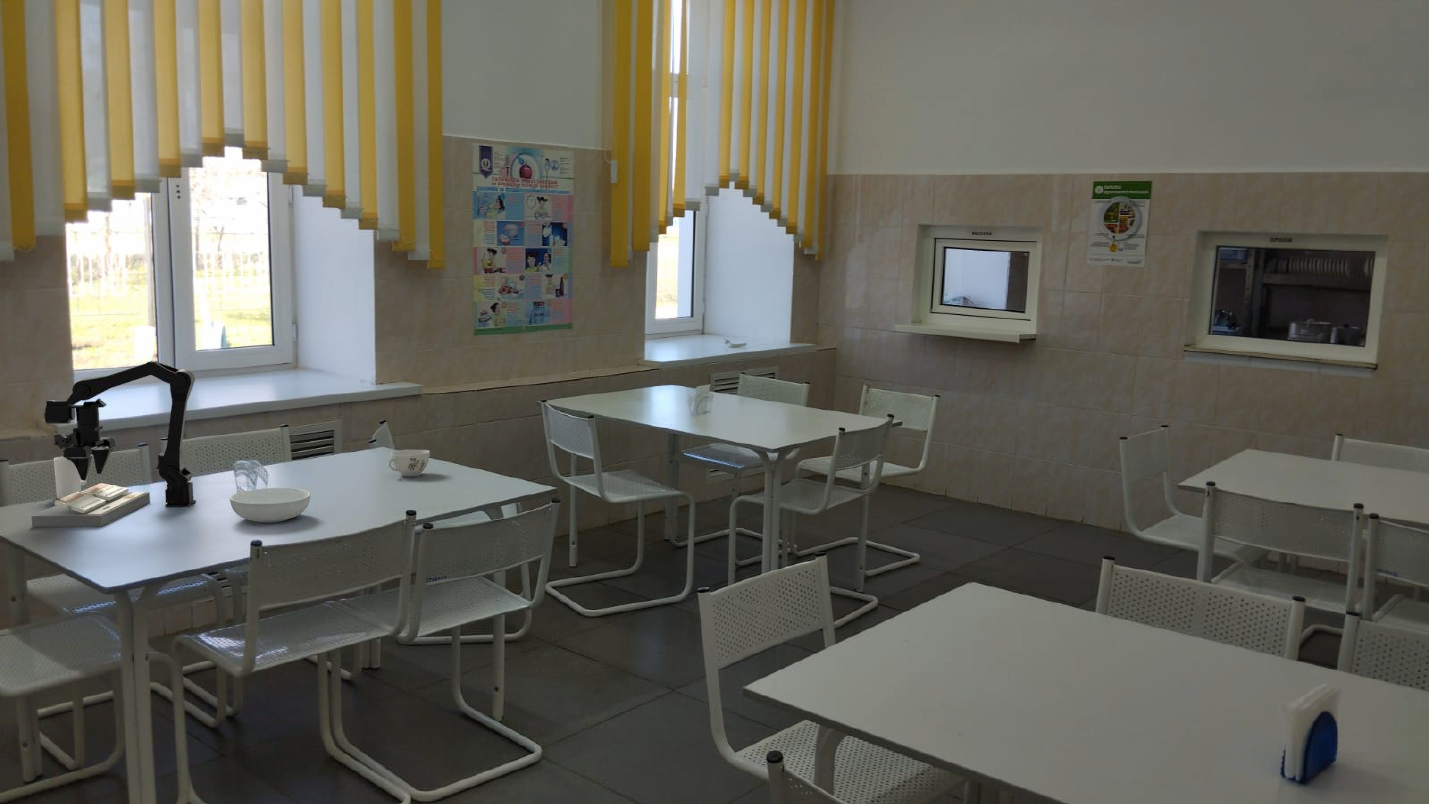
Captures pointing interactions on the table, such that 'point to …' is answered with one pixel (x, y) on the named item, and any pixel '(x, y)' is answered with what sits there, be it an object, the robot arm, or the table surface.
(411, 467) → the teacup
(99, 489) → the cream slotted panel
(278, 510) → the serving bowl
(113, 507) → the switch panel
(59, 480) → the mug
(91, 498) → the rocker
